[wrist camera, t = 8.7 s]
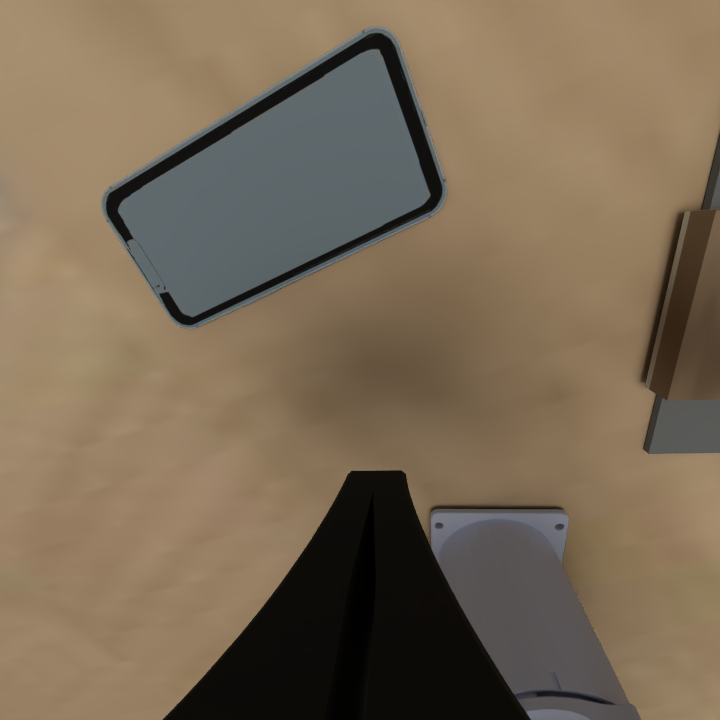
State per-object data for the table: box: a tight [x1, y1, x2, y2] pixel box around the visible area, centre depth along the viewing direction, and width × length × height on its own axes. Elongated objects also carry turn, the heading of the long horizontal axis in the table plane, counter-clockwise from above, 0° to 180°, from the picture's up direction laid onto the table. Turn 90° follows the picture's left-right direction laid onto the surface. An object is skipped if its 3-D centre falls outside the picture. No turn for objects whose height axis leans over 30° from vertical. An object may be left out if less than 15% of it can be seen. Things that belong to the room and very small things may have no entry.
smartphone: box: [101, 26, 447, 329], centre depth 16 cm, size 7×1×15 cm
